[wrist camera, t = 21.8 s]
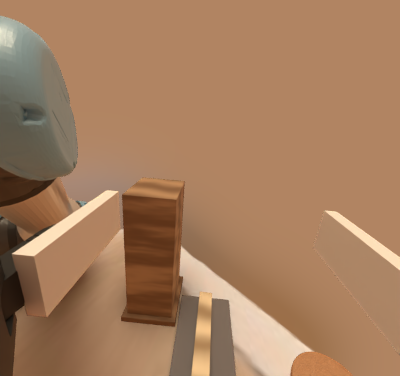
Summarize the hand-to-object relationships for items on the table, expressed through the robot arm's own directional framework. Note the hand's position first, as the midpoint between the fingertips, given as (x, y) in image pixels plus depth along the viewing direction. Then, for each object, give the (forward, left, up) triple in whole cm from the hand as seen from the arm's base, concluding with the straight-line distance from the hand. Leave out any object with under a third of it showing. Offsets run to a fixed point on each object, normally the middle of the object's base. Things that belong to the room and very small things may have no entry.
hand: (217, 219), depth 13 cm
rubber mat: (-10, +14, -38) cm, 42 cm away
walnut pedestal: (-27, +15, -38) cm, 49 cm away
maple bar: (-9, +12, -37) cm, 40 cm away
